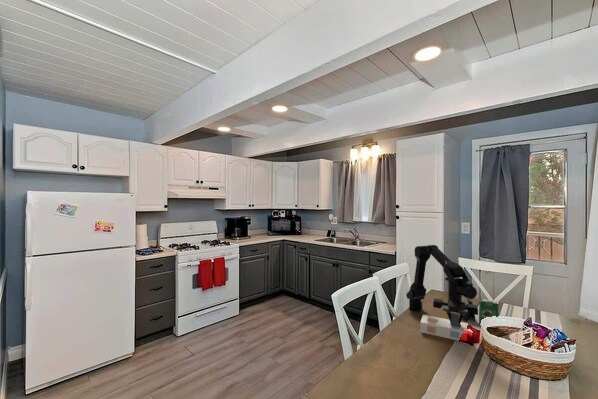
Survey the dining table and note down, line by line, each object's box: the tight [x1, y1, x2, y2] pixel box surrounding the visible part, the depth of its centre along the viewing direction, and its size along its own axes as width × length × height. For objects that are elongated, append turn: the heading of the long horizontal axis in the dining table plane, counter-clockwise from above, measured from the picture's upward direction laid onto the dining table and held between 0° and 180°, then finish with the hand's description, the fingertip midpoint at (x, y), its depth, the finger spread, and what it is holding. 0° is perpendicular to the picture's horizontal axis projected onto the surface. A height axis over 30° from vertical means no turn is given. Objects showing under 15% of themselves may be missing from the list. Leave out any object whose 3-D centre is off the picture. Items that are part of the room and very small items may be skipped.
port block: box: [419, 314, 469, 342], centre depth 137 cm, size 20×10×5 cm, turn 58°
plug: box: [451, 312, 460, 327], centre depth 135 cm, size 3×3×8 cm
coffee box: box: [478, 299, 499, 325], centre depth 143 cm, size 8×3×13 cm, turn 70°
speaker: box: [462, 298, 477, 322], centre depth 154 cm, size 8×6×10 cm
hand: (455, 323), depth 135 cm, fingers closed on plug, 3 cm apart
